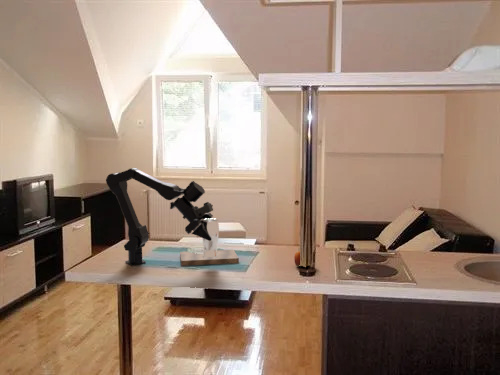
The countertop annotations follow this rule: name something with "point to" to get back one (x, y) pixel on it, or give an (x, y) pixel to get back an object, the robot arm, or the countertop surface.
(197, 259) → the walnut board
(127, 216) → the robot arm
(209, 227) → the beer glass
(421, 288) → the countertop surface
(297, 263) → the fruit
